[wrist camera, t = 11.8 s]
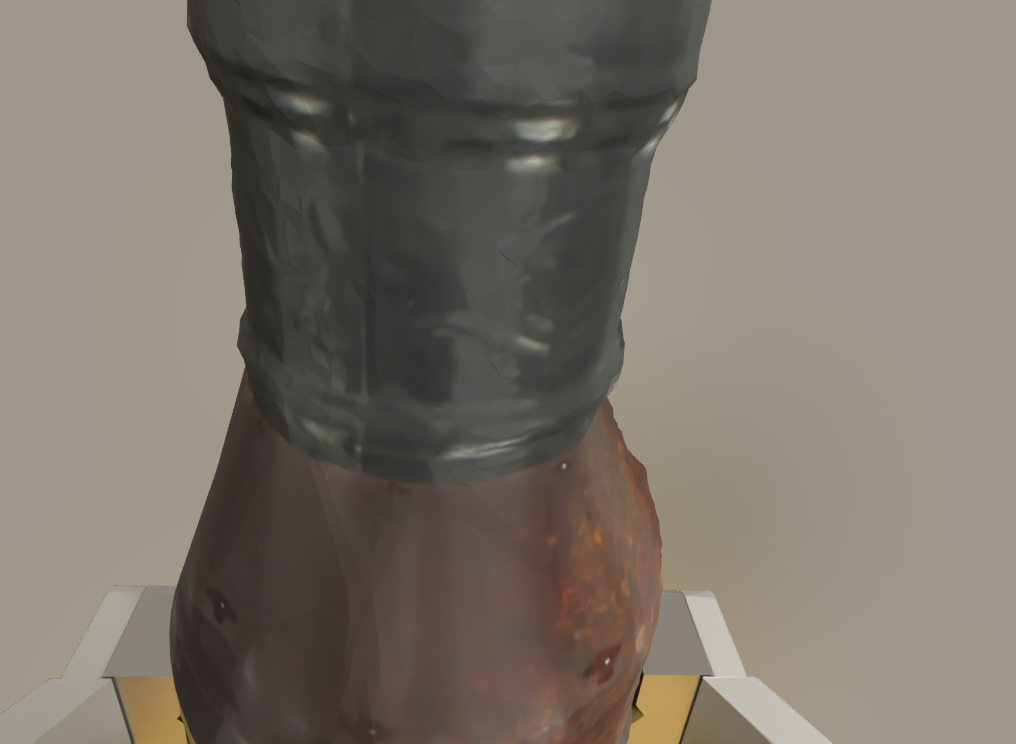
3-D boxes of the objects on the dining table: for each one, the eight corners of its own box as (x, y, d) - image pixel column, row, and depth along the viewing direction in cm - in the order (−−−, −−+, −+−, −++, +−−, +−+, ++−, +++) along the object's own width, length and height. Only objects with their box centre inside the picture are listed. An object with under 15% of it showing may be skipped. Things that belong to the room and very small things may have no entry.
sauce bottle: (306, 799, 19) (230, -136, 9) (547, 825, 19) (749, -79, 9) (197, 1167, 13) (-379, -305, 3) (544, 1206, 13) (1119, -141, 3)
